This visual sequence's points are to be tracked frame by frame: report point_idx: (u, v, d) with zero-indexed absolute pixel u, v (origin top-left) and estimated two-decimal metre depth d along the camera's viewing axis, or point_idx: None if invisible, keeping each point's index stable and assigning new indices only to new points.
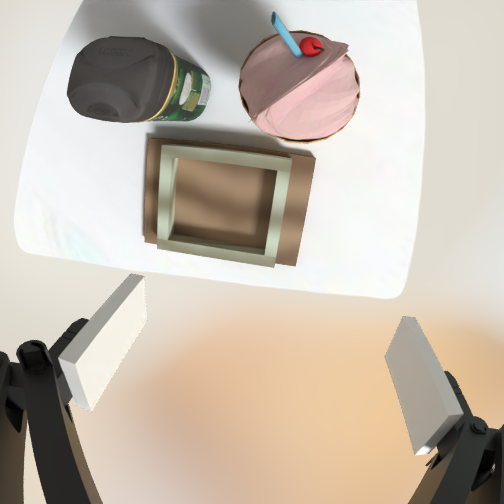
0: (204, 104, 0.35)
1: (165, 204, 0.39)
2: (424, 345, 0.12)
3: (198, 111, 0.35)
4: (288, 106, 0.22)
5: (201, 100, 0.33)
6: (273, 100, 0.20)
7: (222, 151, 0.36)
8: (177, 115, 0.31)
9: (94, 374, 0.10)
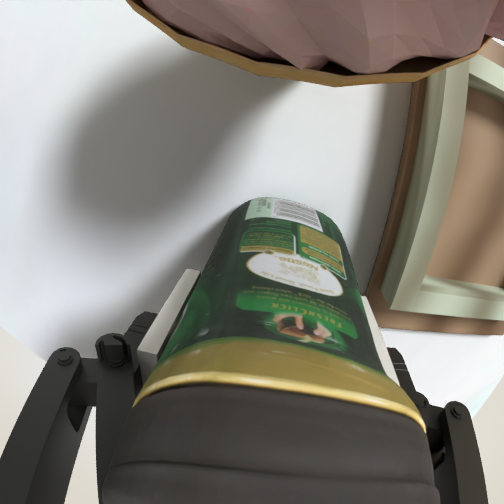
0: (315, 213, 0.17)
1: (485, 305, 0.16)
2: (369, 321, 0.13)
3: (333, 227, 0.16)
4: None
5: (311, 219, 0.16)
6: None
7: (430, 182, 0.14)
8: (357, 289, 0.13)
9: None
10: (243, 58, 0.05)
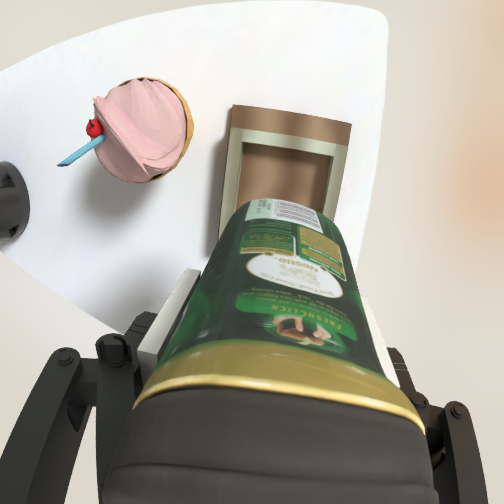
0: (315, 214, 0.17)
1: None
2: (369, 321, 0.13)
3: (333, 228, 0.17)
4: (145, 141, 0.25)
5: (310, 221, 0.16)
6: None
7: (224, 194, 0.38)
8: (357, 290, 0.13)
9: None
10: None
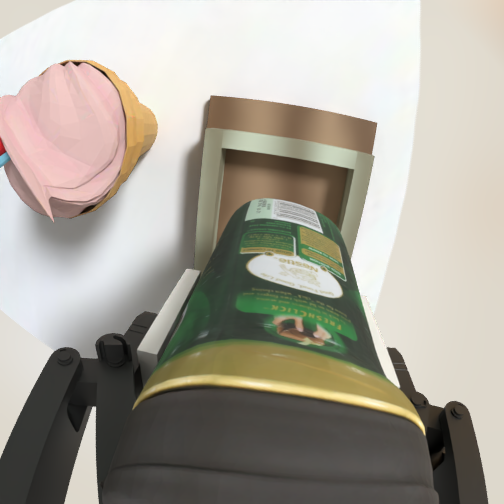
0: (315, 214, 0.17)
1: None
2: (369, 321, 0.13)
3: (333, 228, 0.16)
4: (58, 158, 0.14)
5: (310, 221, 0.16)
6: None
7: (198, 222, 0.27)
8: (357, 290, 0.13)
9: None
10: None
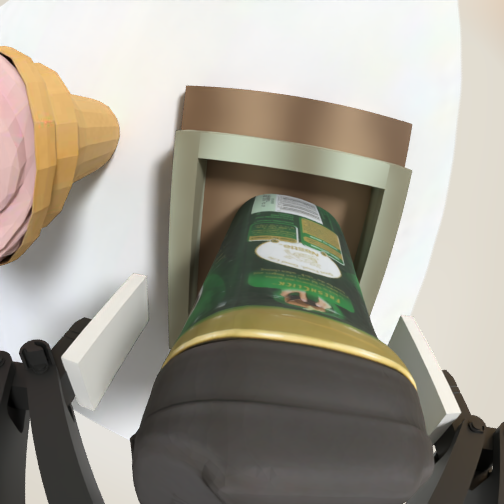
0: (315, 207, 0.18)
1: None
2: (422, 344, 0.12)
3: (332, 220, 0.18)
4: None
5: (311, 213, 0.17)
6: None
7: (170, 259, 0.20)
8: (355, 274, 0.14)
9: (97, 373, 0.10)
10: None
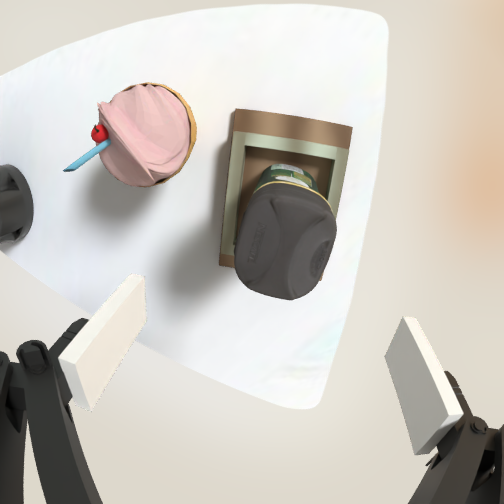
0: (301, 169, 0.37)
1: None
2: (424, 345, 0.12)
3: (309, 175, 0.36)
4: (150, 146, 0.25)
5: (298, 171, 0.36)
6: (137, 161, 0.24)
7: (227, 197, 0.39)
8: (317, 192, 0.33)
9: (94, 374, 0.10)
10: None
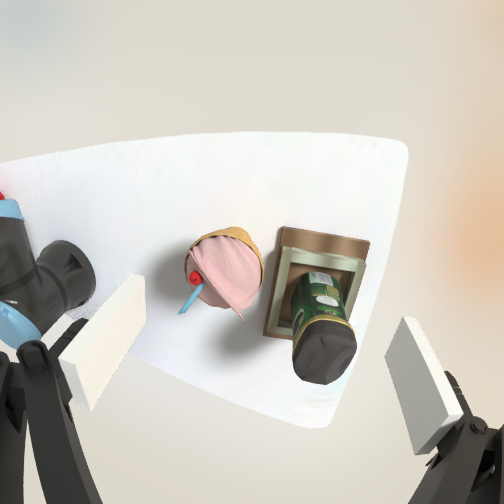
0: (330, 277, 0.51)
1: None
2: (424, 345, 0.12)
3: (336, 282, 0.50)
4: (237, 291, 0.39)
5: (329, 281, 0.49)
6: None
7: (275, 296, 0.52)
8: (342, 303, 0.46)
9: (94, 374, 0.10)
10: None
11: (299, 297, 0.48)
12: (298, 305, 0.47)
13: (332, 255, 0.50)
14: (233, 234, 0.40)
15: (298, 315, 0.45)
